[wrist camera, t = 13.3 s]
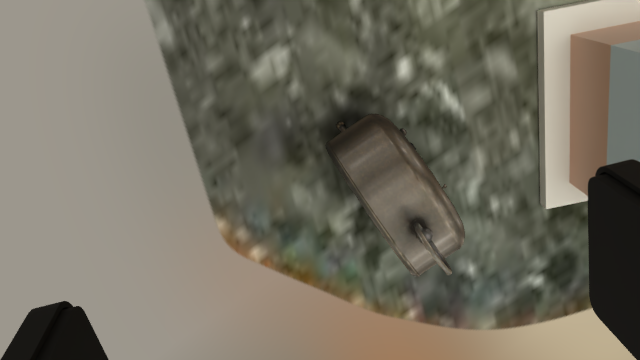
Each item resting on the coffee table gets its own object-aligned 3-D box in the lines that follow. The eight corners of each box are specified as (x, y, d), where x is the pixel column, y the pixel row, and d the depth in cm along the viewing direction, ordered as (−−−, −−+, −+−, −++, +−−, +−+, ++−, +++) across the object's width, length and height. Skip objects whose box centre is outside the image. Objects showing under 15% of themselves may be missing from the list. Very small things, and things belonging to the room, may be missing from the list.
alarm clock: (312, 122, 42) (343, 217, 27) (372, 82, 41) (438, 156, 26) (385, 226, 46) (447, 357, 31) (441, 190, 45) (531, 308, 30)
